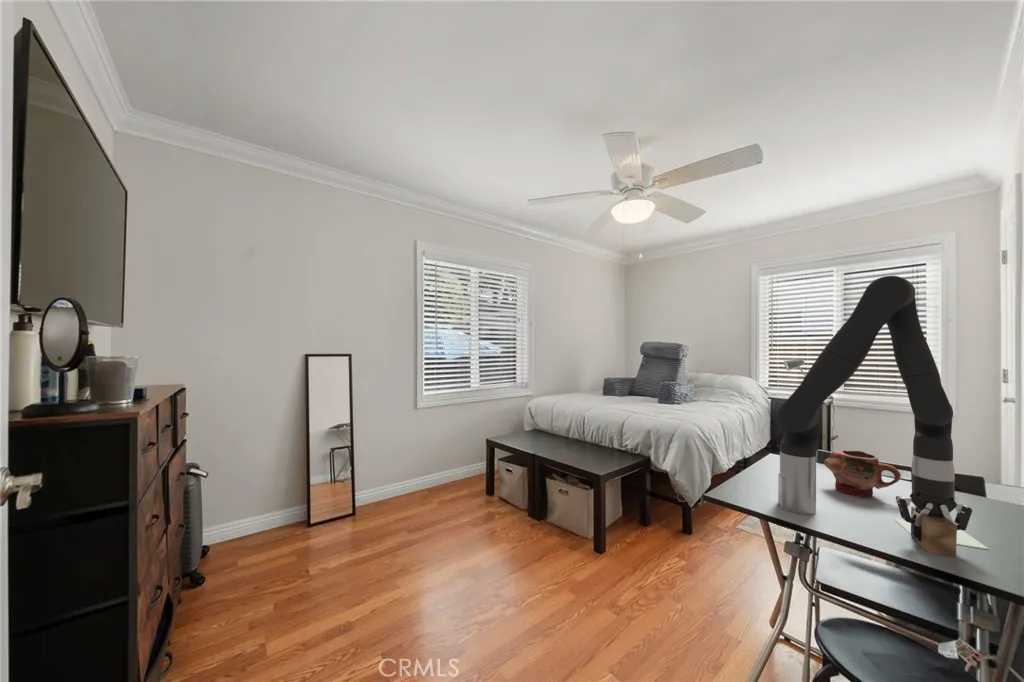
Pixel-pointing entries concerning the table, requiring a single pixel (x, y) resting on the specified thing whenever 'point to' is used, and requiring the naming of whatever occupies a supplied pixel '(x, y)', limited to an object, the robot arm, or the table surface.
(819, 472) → the table surface
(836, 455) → the decorative planter
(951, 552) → the walnut block
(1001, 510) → the table surface
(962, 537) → the mat
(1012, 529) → the table surface
